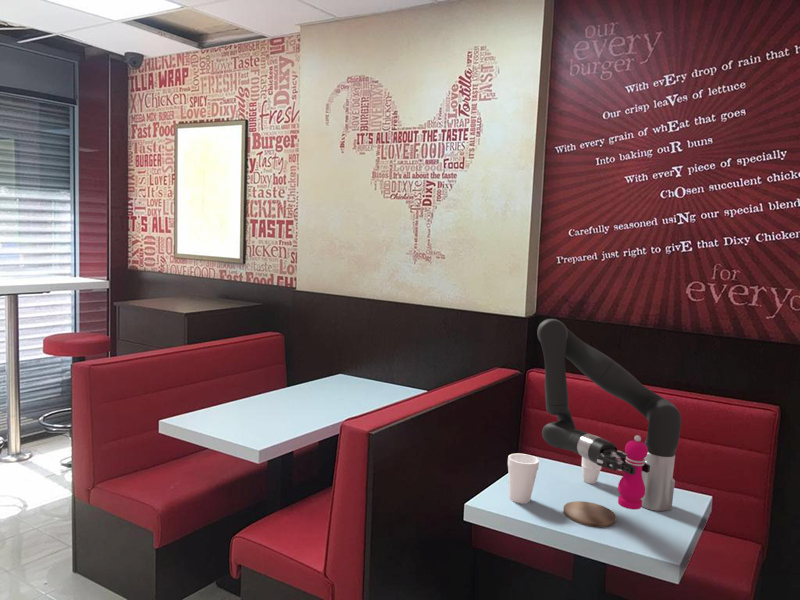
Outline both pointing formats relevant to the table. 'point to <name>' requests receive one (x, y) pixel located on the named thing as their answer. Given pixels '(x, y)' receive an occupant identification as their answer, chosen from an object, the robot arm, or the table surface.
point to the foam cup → (521, 476)
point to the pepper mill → (633, 484)
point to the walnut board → (589, 514)
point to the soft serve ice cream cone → (590, 471)
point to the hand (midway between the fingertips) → (641, 470)
